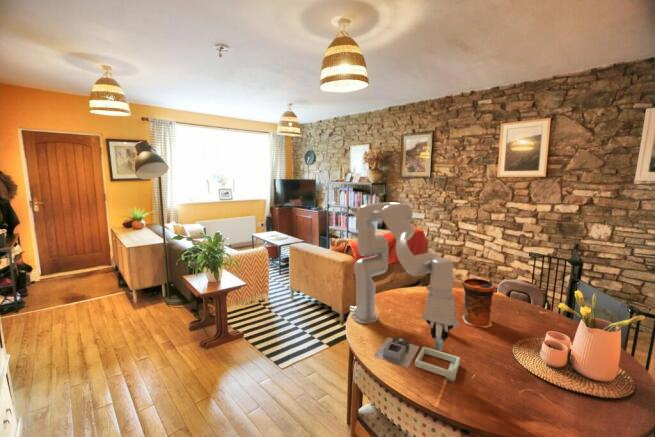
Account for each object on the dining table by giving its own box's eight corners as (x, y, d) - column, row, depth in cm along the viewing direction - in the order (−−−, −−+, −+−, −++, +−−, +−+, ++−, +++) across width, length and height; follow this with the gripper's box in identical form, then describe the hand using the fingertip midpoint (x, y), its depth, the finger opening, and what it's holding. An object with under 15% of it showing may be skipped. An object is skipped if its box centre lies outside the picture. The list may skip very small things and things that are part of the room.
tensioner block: (373, 358, 120) (373, 349, 120) (388, 339, 133) (388, 330, 133) (407, 370, 113) (407, 360, 112) (419, 348, 126) (420, 340, 125)
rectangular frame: (414, 368, 114) (415, 360, 113) (422, 353, 123) (423, 346, 122) (454, 381, 106) (454, 373, 106) (459, 364, 115) (459, 357, 115)
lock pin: (431, 349, 112) (432, 316, 110) (434, 343, 116) (435, 311, 114) (443, 352, 110) (445, 319, 108) (446, 346, 113) (447, 314, 111)
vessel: (460, 325, 144) (463, 285, 141) (459, 312, 157) (462, 276, 154) (494, 331, 139) (497, 289, 136) (490, 317, 152) (493, 279, 149)
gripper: (415, 290, 111) (414, 336, 114) (463, 300, 102) (461, 349, 105) (421, 284, 117) (420, 328, 120) (467, 292, 108) (464, 339, 111)
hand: (439, 337), depth 112 cm, fingers closed on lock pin, 3 cm apart
